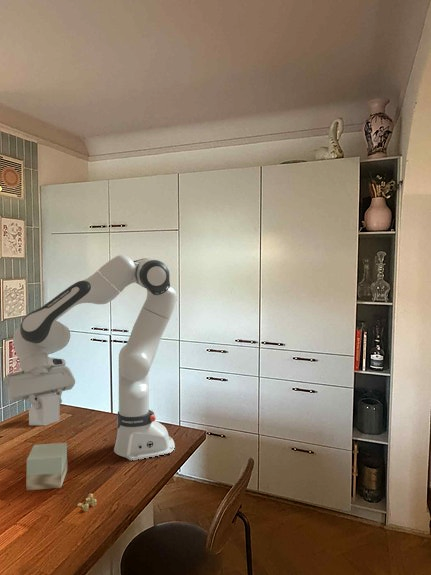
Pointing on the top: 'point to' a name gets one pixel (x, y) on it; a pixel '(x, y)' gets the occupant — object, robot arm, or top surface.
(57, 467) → the sage block
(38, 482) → the birch block
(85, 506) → the beige lumpy cluster
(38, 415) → the grey block
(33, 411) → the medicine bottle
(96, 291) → the robot arm
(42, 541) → the top surface
